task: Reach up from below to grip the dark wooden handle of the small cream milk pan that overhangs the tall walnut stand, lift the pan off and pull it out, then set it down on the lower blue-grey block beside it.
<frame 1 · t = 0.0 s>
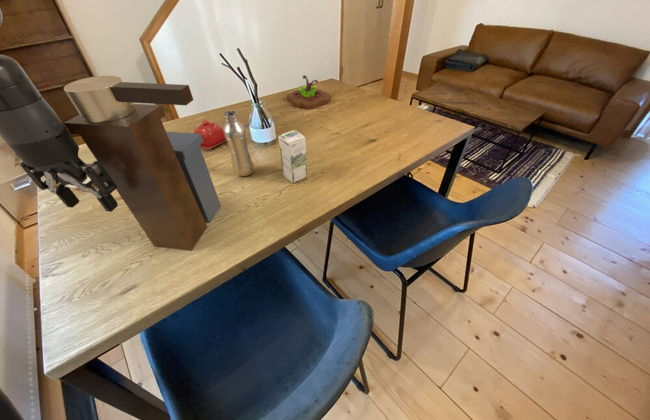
hand: (93, 206, 55), 16 cm above the table, tool pointing down, fingers open, 8 cm apart
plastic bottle: (245, 173, 90), on the table
syrup box: (295, 177, 88), on the table
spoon: (127, 172, 91), on the table
blue-grey block: (198, 212, 76), on the table
plant: (308, 100, 136), on the table
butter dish: (212, 142, 106), on the table
milk pan: (109, 113, 48), point 32 cm above the table, touching tall stand
tall stand: (181, 236, 70), on the table
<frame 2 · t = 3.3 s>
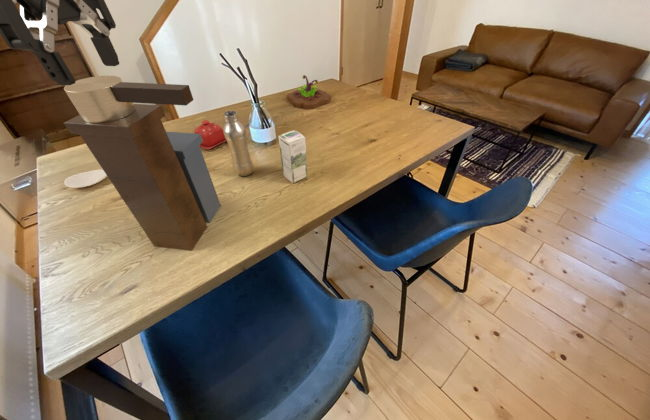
hand: (91, 74, 39), 40 cm above the table, tool pointing down, fingers open, 8 cm apart
nothing on the table moved.
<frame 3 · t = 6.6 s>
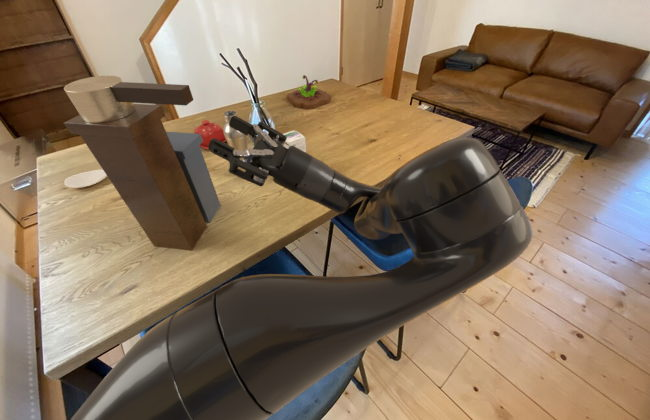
hand: (220, 131, 47), 30 cm above the table, tool pointing upward, fingers open, 8 cm apart
nothing on the table moved.
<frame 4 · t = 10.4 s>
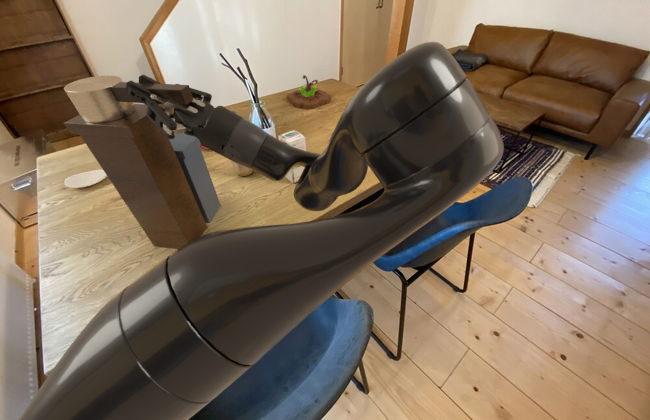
hand: (134, 83, 44), 37 cm above the table, tool pointing upward, fingers closed on milk pan, 2 cm apart
milk pan: (110, 113, 48), point 32 cm above the table, touching gripper, tall stand
everything else where it was.
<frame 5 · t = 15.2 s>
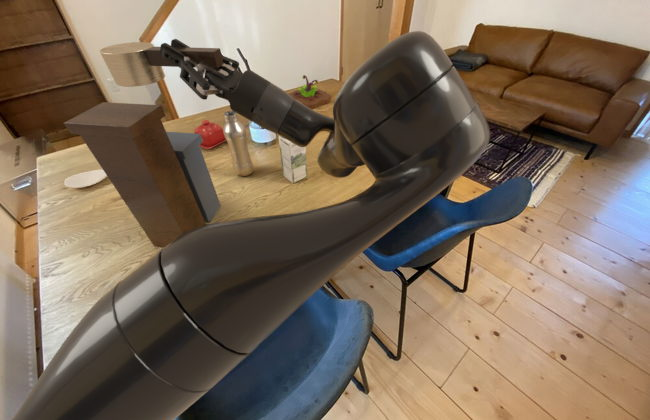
hand: (167, 46, 45), 41 cm above the table, tool pointing upward, fingers closed on milk pan, 2 cm apart
milk pan: (141, 79, 49), point 36 cm above the table, touching gripper
everything else where it was.
when the fingers open (27 cm above the table, at t = 19.9 s): milk pan stays where it is, resting on blue-grey block.
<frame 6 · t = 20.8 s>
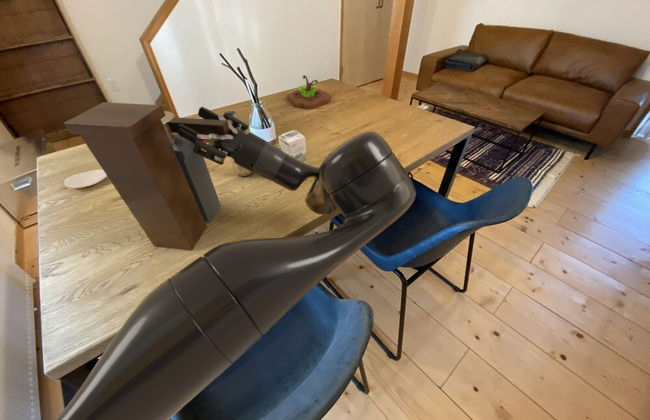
hand: (189, 119, 57), 27 cm above the table, tool pointing upward, fingers open, 8 cm apart
milk pan: (163, 139, 61), point 22 cm above the table, touching blue-grey block
everything else where it was.
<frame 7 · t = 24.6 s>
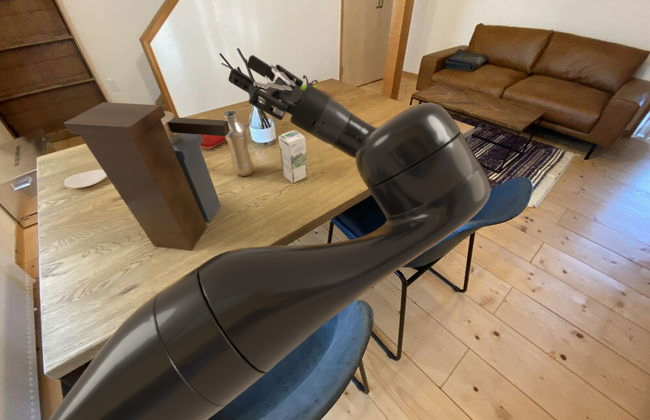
hand: (240, 66, 47), 38 cm above the table, tool pointing upward, fingers open, 8 cm apart
nothing on the table moved.
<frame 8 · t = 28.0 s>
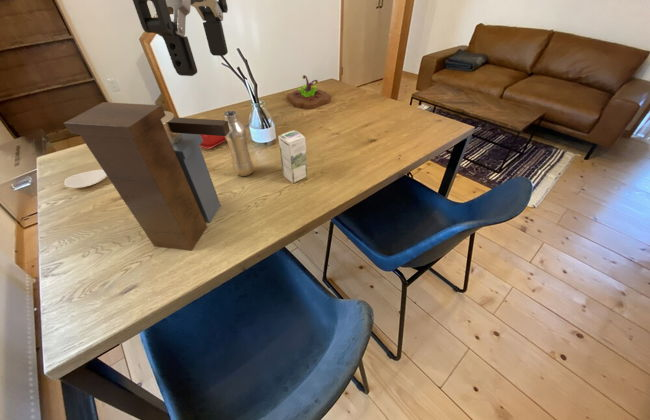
hand: (205, 64, 34), 42 cm above the table, tool pointing down, fingers open, 8 cm apart
nothing on the table moved.
at the end: milk pan inside the target area on the blue-grey block (0.1 cm from its centre), point 22.0 cm above the blue-grey block's base; milk pan tilted 0°; the gripper is holding nothing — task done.
